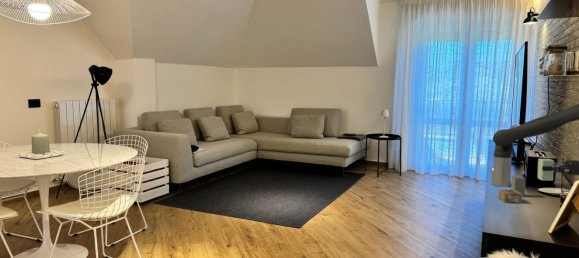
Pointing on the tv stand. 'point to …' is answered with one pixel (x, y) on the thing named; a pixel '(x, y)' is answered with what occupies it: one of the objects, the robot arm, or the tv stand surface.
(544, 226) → the tv stand surface
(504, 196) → the brown box
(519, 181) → the charcoal block
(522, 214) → the tv stand surface
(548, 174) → the sage green block
